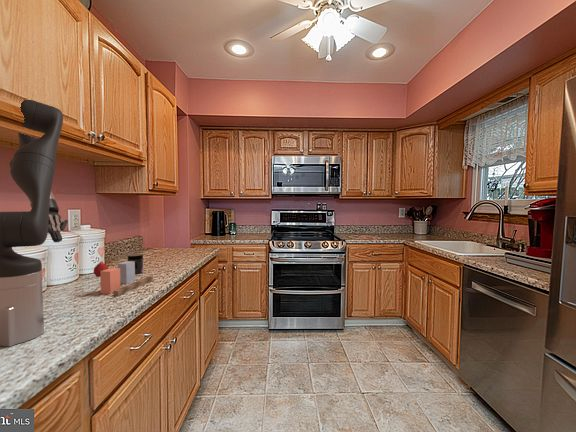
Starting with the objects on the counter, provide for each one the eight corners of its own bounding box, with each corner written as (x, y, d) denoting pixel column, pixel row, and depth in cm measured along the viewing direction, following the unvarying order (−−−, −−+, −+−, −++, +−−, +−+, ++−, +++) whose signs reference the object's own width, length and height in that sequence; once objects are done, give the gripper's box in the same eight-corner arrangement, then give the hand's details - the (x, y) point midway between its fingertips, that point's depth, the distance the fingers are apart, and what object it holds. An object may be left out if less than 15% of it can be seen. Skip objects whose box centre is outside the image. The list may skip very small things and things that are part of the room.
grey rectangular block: (126, 284, 111) (126, 264, 111) (118, 283, 112) (117, 263, 111) (135, 280, 116) (134, 261, 116) (126, 280, 117) (126, 261, 116)
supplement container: (142, 277, 127) (142, 255, 126) (126, 278, 124) (125, 256, 124) (144, 273, 133) (144, 253, 133) (128, 274, 131) (128, 253, 130)
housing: (118, 299, 97) (118, 291, 97) (85, 297, 99) (85, 289, 99) (152, 283, 117) (152, 276, 117) (125, 282, 119) (125, 275, 118)
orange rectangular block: (110, 294, 99) (110, 271, 99) (100, 293, 100) (100, 271, 99) (120, 289, 104) (120, 268, 104) (111, 289, 105) (110, 268, 104)
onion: (101, 280, 121) (100, 262, 121) (90, 279, 122) (90, 262, 122) (111, 276, 127) (111, 260, 126) (101, 276, 128) (101, 259, 128)
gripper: (33, 194, 97) (49, 236, 95) (66, 200, 110) (81, 237, 108) (16, 204, 97) (31, 246, 95) (51, 208, 110) (66, 245, 108)
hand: (58, 241), depth 101 cm, fingers closed
